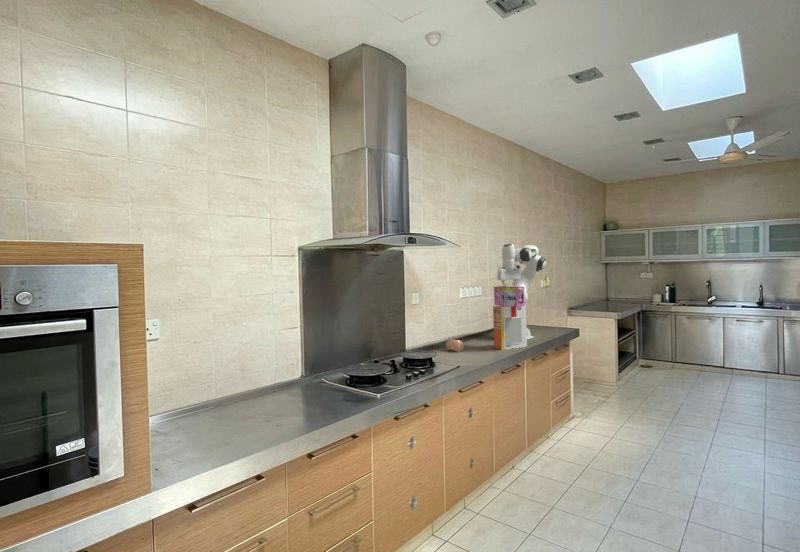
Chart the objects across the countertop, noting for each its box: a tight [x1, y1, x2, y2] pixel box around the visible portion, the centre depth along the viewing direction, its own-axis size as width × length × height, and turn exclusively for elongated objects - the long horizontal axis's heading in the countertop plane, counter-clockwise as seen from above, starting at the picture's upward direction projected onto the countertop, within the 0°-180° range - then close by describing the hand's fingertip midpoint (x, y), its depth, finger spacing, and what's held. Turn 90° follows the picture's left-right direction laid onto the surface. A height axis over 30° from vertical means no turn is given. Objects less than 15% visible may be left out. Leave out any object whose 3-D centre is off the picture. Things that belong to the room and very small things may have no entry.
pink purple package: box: [493, 285, 526, 307], centre depth 306 cm, size 24×8×14 cm, turn 31°
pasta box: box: [492, 304, 528, 351], centre depth 307 cm, size 23×8×30 cm, turn 116°
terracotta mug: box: [446, 338, 465, 353], centre depth 302 cm, size 10×8×9 cm
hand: (509, 286), depth 306 cm, fingers open, 8 cm apart
